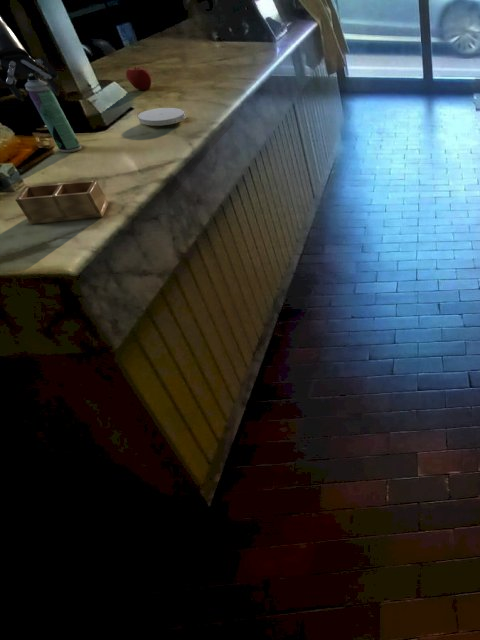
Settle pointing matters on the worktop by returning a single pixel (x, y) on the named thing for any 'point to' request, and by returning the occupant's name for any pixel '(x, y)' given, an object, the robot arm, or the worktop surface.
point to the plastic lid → (161, 116)
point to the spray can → (52, 114)
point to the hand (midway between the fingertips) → (40, 96)
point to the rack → (62, 201)
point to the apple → (139, 78)
